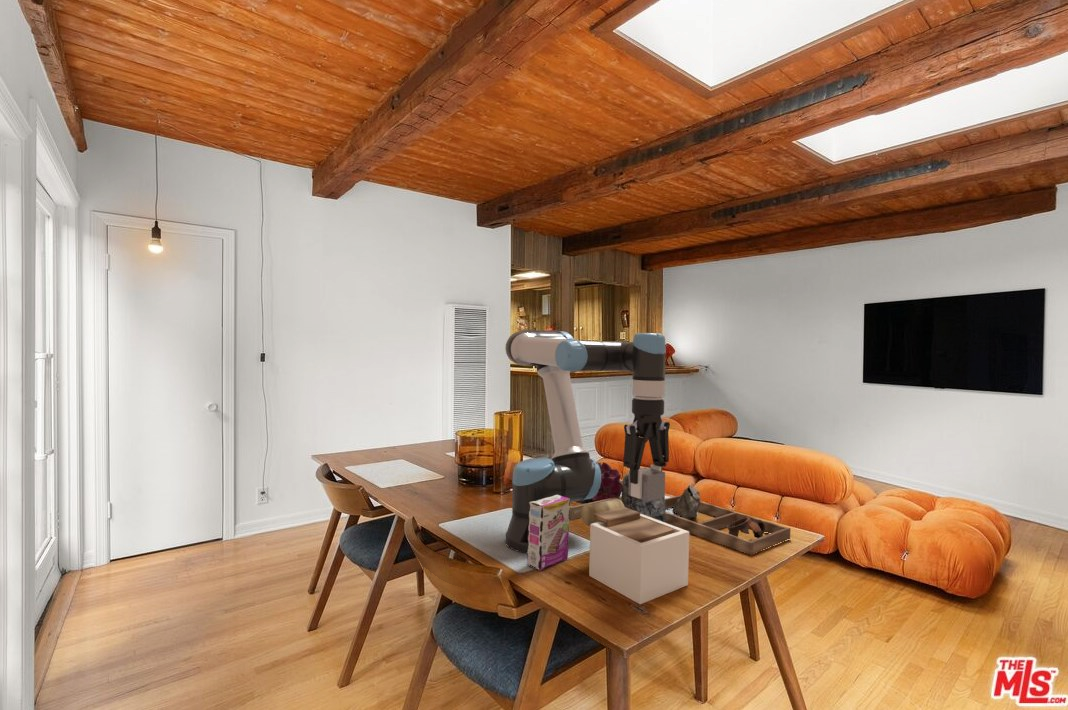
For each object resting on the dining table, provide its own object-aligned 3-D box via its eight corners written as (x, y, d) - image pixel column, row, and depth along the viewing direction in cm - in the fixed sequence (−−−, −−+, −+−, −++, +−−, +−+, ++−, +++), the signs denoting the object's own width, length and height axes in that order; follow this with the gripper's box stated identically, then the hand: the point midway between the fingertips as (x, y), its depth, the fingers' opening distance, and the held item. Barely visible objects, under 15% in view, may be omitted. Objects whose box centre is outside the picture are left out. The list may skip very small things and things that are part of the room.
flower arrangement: (538, 495, 190) (539, 456, 190) (570, 485, 205) (571, 449, 205) (608, 514, 169) (609, 470, 169) (638, 502, 184) (639, 461, 184)
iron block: (647, 501, 116) (648, 475, 116) (628, 495, 120) (628, 470, 120) (664, 497, 119) (665, 472, 119) (645, 491, 124) (645, 467, 124)
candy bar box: (540, 572, 125) (542, 506, 125) (526, 565, 129) (527, 501, 128) (569, 559, 133) (570, 497, 133) (555, 553, 137) (556, 493, 136)
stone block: (638, 546, 143) (640, 476, 143) (614, 536, 150) (615, 470, 150) (674, 531, 155) (676, 467, 155) (650, 523, 162) (652, 462, 162)
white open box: (589, 575, 124) (590, 524, 123) (635, 560, 133) (637, 512, 133) (640, 604, 110) (641, 546, 110) (688, 584, 120) (689, 531, 120)
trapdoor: (577, 523, 130) (578, 503, 130) (613, 514, 138) (614, 496, 137) (636, 549, 114) (637, 527, 113) (673, 537, 121) (674, 517, 121)
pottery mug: (756, 554, 140) (741, 526, 142) (732, 557, 148) (717, 530, 150) (780, 535, 147) (765, 508, 149) (755, 539, 154) (741, 514, 156)
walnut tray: (640, 514, 170) (641, 504, 170) (680, 504, 183) (680, 495, 183) (751, 555, 138) (751, 543, 138) (790, 540, 150) (790, 528, 150)
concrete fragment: (680, 506, 180) (681, 476, 180) (708, 525, 161) (710, 491, 161) (664, 507, 179) (665, 476, 179) (690, 526, 160) (692, 492, 160)
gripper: (662, 395, 128) (660, 485, 128) (608, 398, 117) (605, 496, 117) (686, 397, 122) (684, 492, 122) (632, 401, 111) (629, 505, 111)
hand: (645, 494), depth 120 cm, fingers closed on iron block, 6 cm apart
